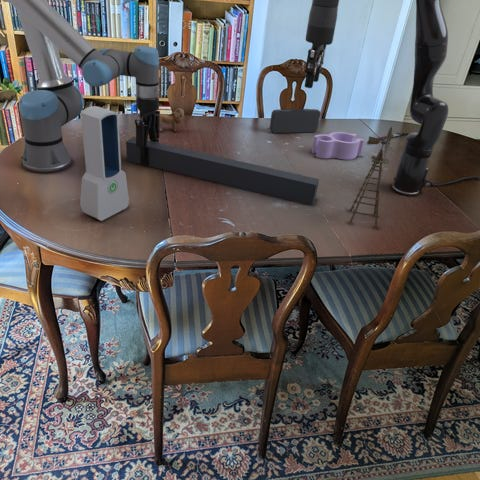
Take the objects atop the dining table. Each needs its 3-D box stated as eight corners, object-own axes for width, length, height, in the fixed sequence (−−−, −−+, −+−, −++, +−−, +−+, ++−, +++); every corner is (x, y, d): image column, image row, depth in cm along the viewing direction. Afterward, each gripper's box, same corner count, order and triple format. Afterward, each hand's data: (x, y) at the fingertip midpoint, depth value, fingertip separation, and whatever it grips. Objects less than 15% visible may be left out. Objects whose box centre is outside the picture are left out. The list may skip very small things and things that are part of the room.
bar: (126, 160, 168) (125, 141, 164) (133, 156, 172) (133, 137, 168) (312, 205, 152) (316, 185, 148) (315, 199, 156) (319, 179, 152)
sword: (405, 131, 223) (406, 129, 223) (410, 133, 221) (411, 131, 221) (362, 143, 208) (363, 140, 207) (367, 145, 206) (368, 143, 205)
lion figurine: (182, 127, 202) (182, 106, 197) (185, 131, 197) (185, 110, 193) (148, 128, 197) (147, 107, 192) (150, 132, 193) (150, 111, 188)
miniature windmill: (376, 228, 143) (404, 134, 127) (348, 223, 144) (372, 129, 128) (375, 214, 150) (401, 124, 134) (349, 209, 151) (371, 119, 135)
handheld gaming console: (314, 130, 214) (318, 108, 209) (317, 132, 212) (321, 110, 207) (268, 131, 207) (271, 109, 202) (270, 133, 205) (273, 111, 200)
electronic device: (98, 222, 131) (90, 118, 115) (80, 214, 134) (69, 111, 118) (130, 206, 140) (126, 108, 124) (111, 198, 143) (105, 101, 127)
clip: (320, 160, 184) (324, 144, 180) (307, 148, 194) (310, 132, 190) (364, 158, 190) (368, 142, 186) (349, 146, 200) (352, 131, 196)
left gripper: (144, 105, 147) (145, 173, 160) (169, 92, 162) (169, 155, 174) (123, 101, 149) (126, 168, 161) (150, 88, 163) (151, 151, 176)
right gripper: (330, 29, 120) (319, 92, 129) (339, 23, 132) (328, 81, 141) (302, 24, 122) (293, 87, 131) (313, 19, 134) (304, 77, 142)
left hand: (148, 161), depth 168 cm, fingers closed on bar, 5 cm apart
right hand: (311, 84), depth 136 cm, fingers open, 8 cm apart
